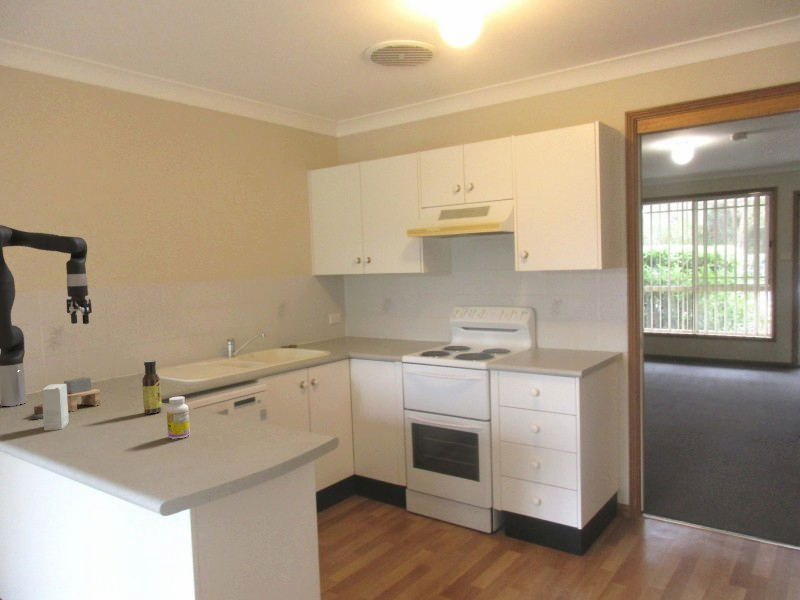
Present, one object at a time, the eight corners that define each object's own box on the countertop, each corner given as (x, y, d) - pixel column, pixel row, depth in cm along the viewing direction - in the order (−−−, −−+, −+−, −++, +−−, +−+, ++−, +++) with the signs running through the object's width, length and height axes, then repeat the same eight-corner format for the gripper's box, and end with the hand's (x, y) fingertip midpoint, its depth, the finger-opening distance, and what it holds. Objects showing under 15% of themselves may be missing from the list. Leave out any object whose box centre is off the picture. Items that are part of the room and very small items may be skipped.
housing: (84, 389, 243) (83, 377, 242) (91, 390, 240) (90, 378, 240) (65, 393, 236) (64, 381, 235) (71, 394, 233) (70, 381, 233)
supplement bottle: (168, 435, 193) (166, 397, 192) (189, 432, 195) (187, 394, 194) (168, 441, 186) (165, 401, 186) (190, 438, 189) (187, 398, 188)
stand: (57, 409, 236) (56, 393, 235) (86, 402, 246) (85, 387, 246) (71, 412, 231) (70, 396, 230) (100, 405, 241) (99, 389, 240)
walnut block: (34, 417, 225) (33, 406, 225) (43, 414, 229) (42, 404, 229) (43, 417, 224) (42, 407, 224) (51, 414, 228) (50, 404, 228)
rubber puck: (30, 419, 222) (30, 415, 222) (41, 417, 225) (41, 413, 225) (35, 420, 220) (35, 417, 220) (46, 418, 223) (46, 414, 223)
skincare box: (51, 425, 212) (48, 384, 211) (70, 423, 213) (67, 382, 213) (43, 431, 204) (40, 389, 203) (62, 429, 205) (59, 387, 204)
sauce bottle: (162, 413, 223) (159, 361, 222) (144, 415, 220) (141, 363, 219) (161, 409, 229) (158, 359, 228) (143, 412, 226) (140, 360, 225)
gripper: (95, 284, 244) (98, 323, 245) (76, 284, 252) (79, 322, 253) (78, 285, 238) (80, 325, 239) (58, 285, 246) (61, 324, 247)
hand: (80, 323), depth 246 cm, fingers open, 8 cm apart
